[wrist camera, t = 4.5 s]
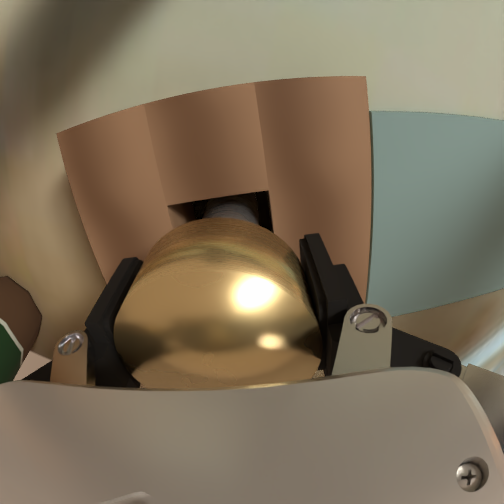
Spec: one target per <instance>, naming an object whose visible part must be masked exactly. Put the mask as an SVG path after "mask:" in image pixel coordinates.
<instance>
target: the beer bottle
mask: <svg viewBox="0 0 504 504" xmlns="http://www.w3.org/2000/svg"><path fill="white" fill-rule="evenodd" d="M41 319H42V315H41V313H40V311H39V310H38V308H37V306H36V304H35V303H34V301H33V299H32V297H31V295H30V293H29V292H28V291H27V290H25V289H24V288H23V287H21V286H20V285H19V284H17V283H16V282H15V281H13V280H12V279H11V278H9V277H8V276H5V277H0V384H2V383H6V382H10V381H13V379H14V378H15V376H16V374H17V372H18V370H19V368H20V367H21V365H22V363H23V361H24V360H25V358H26V356H27V354H28V353H29V351H30V349H31V348H32V346H33V344H34V342H35V340H36V338H37V336H38V333H39V329H40V324H41Z"/></svg>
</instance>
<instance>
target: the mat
mask: <svg viewBox="0 0 504 504" xmlns="http://www.w3.org/2000/svg"><path fill="white" fill-rule="evenodd" d="M369 117H370V135H371V168H372V201H371V234H370V253H369V268H368V280H367V291H366V301H365V304H375V305H378V306H381V307H383V308H384V309H386V310H387V311H388V312H389V314H390V315H391V317H394V316H399V315H403V314H408V313H412V312H417V311H421V310H426V309H430V308H434V307H438V306H442V305H446V304H450V303H454V302H458V301H462V300H465V299H469V298H473V297H476V296H480V295H483V294H487V293H490V292H494V291H497V290H500V289H503V288H504V120H497V119H490V118H483V117H474V116H465V115H455V114H443V113H427V112H403V111H369Z"/></svg>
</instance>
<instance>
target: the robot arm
mask: <svg viewBox="0 0 504 504" xmlns="http://www.w3.org/2000/svg"><path fill="white" fill-rule="evenodd" d="M299 247H300V261H301V265H302V267H303V269H304V273H305V276H306V280H307V284H308V287H309V291H310V295H311V299H312V302H313V306H314V310H315V314H316V317H317V321H318V325H319V329H320V333H321V336H322V344H323V350H322V358H321V361H320V364H319V366H318V370H324V374H325V377H319V378H311V379H303V380H295V381H287V382H278V383H269V384H258V385H246V386H231V387H212V388H170V389H162V388H139V387H140V384H141V383H140V382H139V381H137V380H136V379H135V378H134V377H133V376H132V375H131V373H130V372H129V371H128V370H127V369H126V367H125V366H124V364H123V363H122V361H121V359H120V357H119V355H118V353H117V350H116V347H115V342H114V324H115V320H116V317H117V314H118V312H119V310H120V308H121V306H122V304H123V302H124V300H125V298H126V296H127V293H128V291H129V289H130V287H131V285H132V284H133V282H134V280H135V278H136V276H137V274H138V272H139V270H140V268H141V266H142V264H143V261H142V260H139V259H138V258H137V257H131V258H124V259H122V261H121V262H120V264H119V266H118V267H117V269H116V270H115V272H114V274H113V275H112V277H111V279H110V280H109V282H108V284H107V285H106V287H105V289H104V290H103V292H102V294H101V295H100V297H99V299H98V301H97V302H96V304H95V306H94V308H93V309H92V311H91V313H90V315H89V316H88V318H87V320H86V322H85V326H86V327H87V328H86V330H85V332H83V331H81V330H76V331H71V332H69V333H67V334H65V335H64V336H62V337H61V338H60V339H59V340H58V342H57V343H56V345H55V348H54V355H53V360H52V361H50V362H49V363H47V364H46V365H44V366H43V367H41V368H39V369H38V370H36V371H35V372H33V373H31V374H30V375H28V376H27V377H25V378H24V379H22V380H18V381H10V382H6V383H2V384H0V504H504V376H502V375H499V374H497V373H494V372H491V371H488V370H486V369H483V368H480V367H477V366H475V365H472V364H468V366H467V367H466V366H463V365H461V362H460V360H459V358H458V356H457V355H455V354H454V353H453V352H452V351H450V350H448V349H446V348H443V347H441V346H438V345H436V344H433V343H430V342H428V341H425V340H423V339H420V338H418V337H415V336H413V335H410V334H407V333H405V332H402V331H400V330H397V329H395V328H392V318H391V315H390V314H389V312H388V311H387V310H386V309H384V308H383V307H381V306H378V305H375V304H364V302H363V300H362V298H361V296H360V294H359V292H358V290H357V287H356V285H355V283H354V281H353V279H352V277H351V275H350V273H349V271H348V269H347V267H346V265H345V264H337V265H333V263H332V261H331V259H330V256H329V254H328V252H327V250H326V247H325V245H324V243H323V241H322V238H321V236H320V234H319V233H314V234H305V235H304V239H299Z"/></svg>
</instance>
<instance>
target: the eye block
mask: <svg viewBox="0 0 504 504" xmlns="http://www.w3.org/2000/svg"><path fill="white" fill-rule="evenodd" d="M57 138H58V142H59V146H60V150H61V154H62V158H63V162H64V165H65V169H66V173H67V176H68V180H69V183H70V186H71V190H72V193H73V196H74V199H75V202H76V205H77V208H78V211H79V214H80V217H81V220H82V223H83V226H84V229H85V231H86V234H87V237H88V240H89V242H90V245H91V247H92V250H93V253H94V255H95V258H96V260H97V263H98V265H99V267H100V270H101V272H102V275H103V277H104V279H105V282H106V284H108V282H109V280H110V279H111V277H112V275H113V274H114V272H115V270H116V269H117V267H118V266H119V264H120V262H121V261H122V259H124V258H131V257H137V258H138V259H139V260H142V261H143V262H144V260H145V258H146V257H147V255H148V253H149V251H150V250H151V248H152V247H153V246H154V244H155V243H156V242H157V241H158V240H159V239H160V238H161V237H162V236H164V235H165V234H167V233H168V232H169V231H171V230H173V229H174V228H176V227H178V226H180V225H183V224H185V223H188V222H191V221H195V220H196V217H195V212H194V208H193V204H192V201H197V200H204V199H210V198H216V197H223V196H230V195H237V194H244V193H251V192H259V191H266V190H267V198H268V205H269V213H270V221H271V230H272V233H274V234H276V235H277V236H278V237H279V238H281V239H282V240H283V241H284V242H286V243H287V245H288V246H289V247H290V248H291V249H292V250H293V251H294V253H295V254H296V256H297V257H298V258H299V260H300V247H299V239H304V235H305V234H314V233H319V234H320V236H321V238H322V241H323V243H324V245H325V247H326V250H327V252H328V254H329V256H330V259H331V261H332V263H333V265H337V264H345V265H346V267H347V269H348V271H349V273H350V275H351V277H352V279H353V281H354V283H355V285H356V287H357V290H358V292H359V294H360V296H361V298H362V300H363V302H364V304H365V299H366V289H367V277H368V265H369V249H370V229H371V142H370V122H369V107H368V95H367V84H366V76H333V77H308V78H293V79H281V80H271V81H261V82H253V83H246V84H238V85H232V86H225V87H219V88H214V89H208V90H203V91H198V92H193V93H188V94H183V95H179V96H174V97H170V98H166V99H162V100H158V101H154V102H150V103H146V104H142V105H139V106H135V107H132V108H128V109H125V110H122V111H118V112H115V113H112V114H109V115H106V116H103V117H100V118H97V119H94V120H91V121H88V122H85V123H83V124H80V125H77V126H75V127H72V128H69V129H67V130H64V131H62V132H59V133H57ZM300 263H301V261H300Z"/></svg>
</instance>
